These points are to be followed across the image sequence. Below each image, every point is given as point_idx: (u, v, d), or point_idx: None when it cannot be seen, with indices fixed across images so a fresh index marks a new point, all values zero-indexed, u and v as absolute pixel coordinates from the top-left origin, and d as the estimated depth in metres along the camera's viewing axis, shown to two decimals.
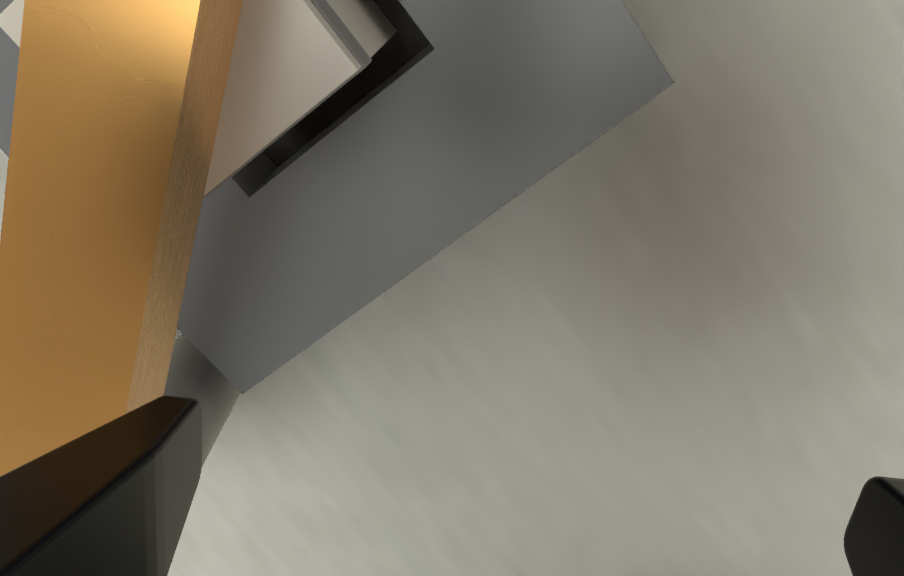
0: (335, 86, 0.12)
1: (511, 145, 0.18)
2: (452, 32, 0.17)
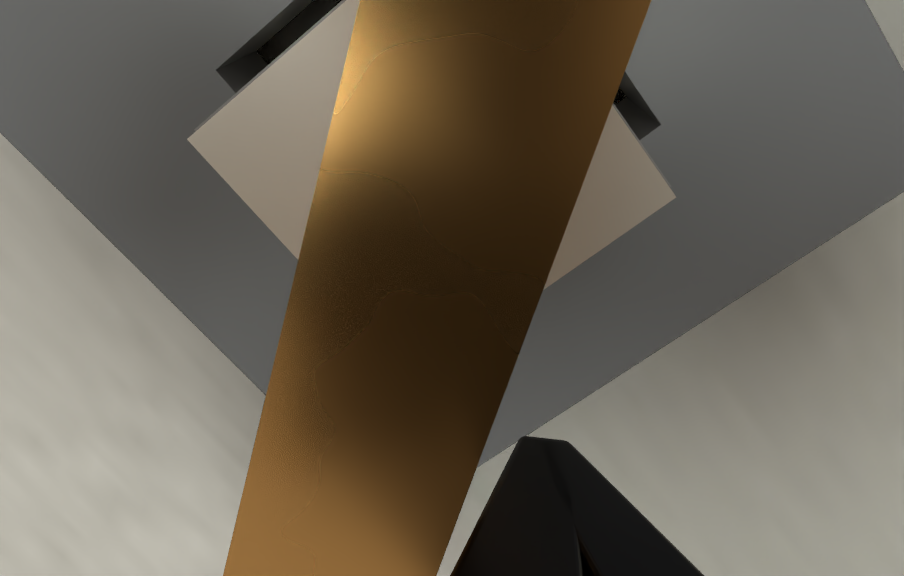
0: (642, 217, 0.09)
1: (743, 236, 0.15)
2: (685, 104, 0.14)
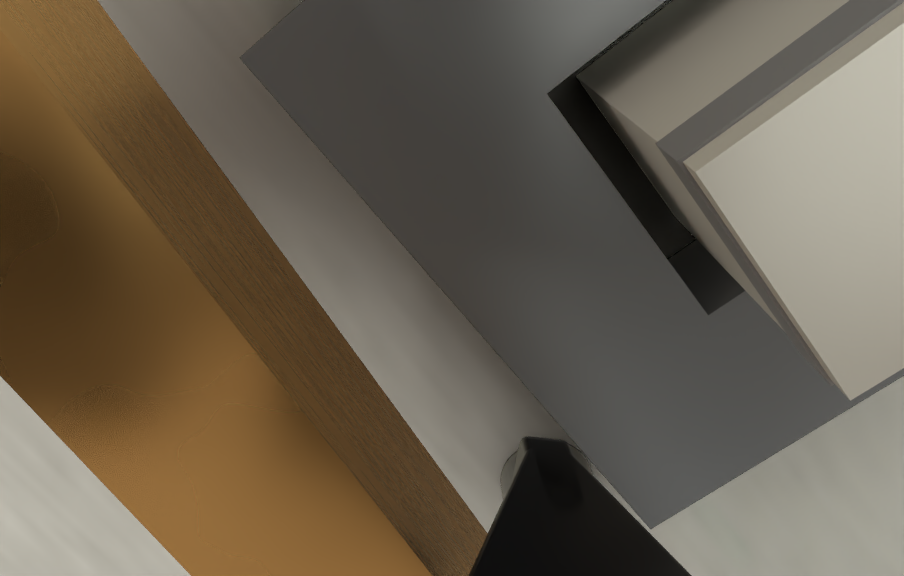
0: None
1: None
2: None
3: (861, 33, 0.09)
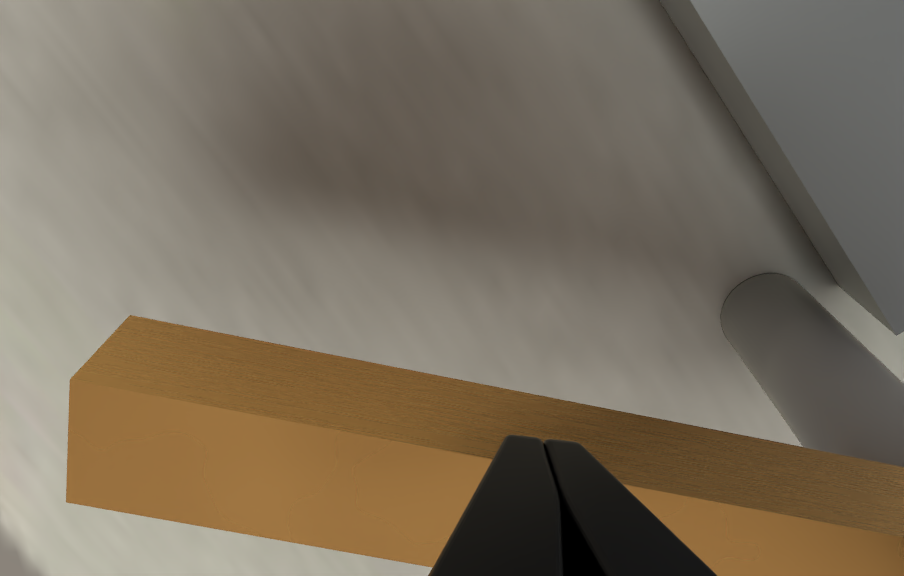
0: None
1: None
2: None
3: None
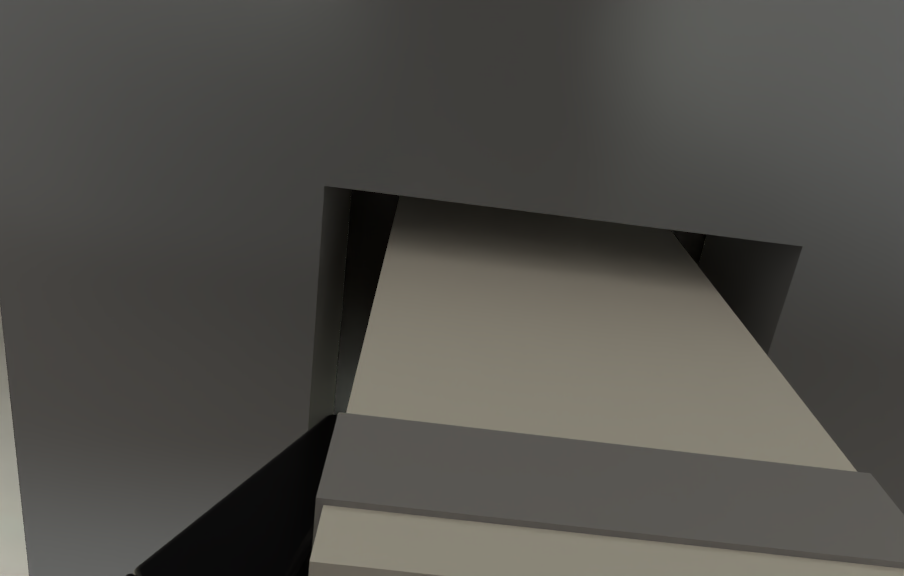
0: None
1: None
2: (813, 203, 0.09)
3: None
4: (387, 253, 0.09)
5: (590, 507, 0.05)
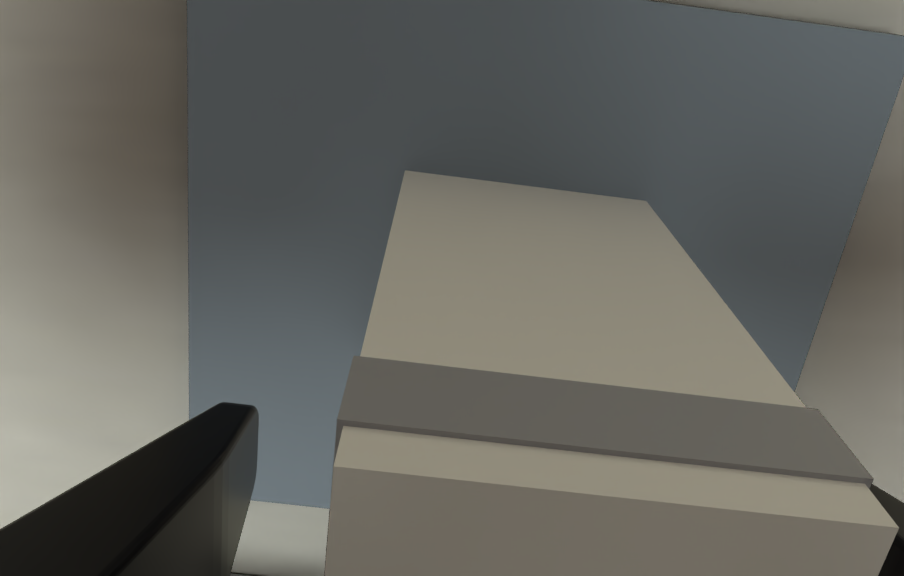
0: (874, 575, 0.06)
1: None
2: None
3: None
4: (392, 228, 0.10)
5: (571, 430, 0.06)
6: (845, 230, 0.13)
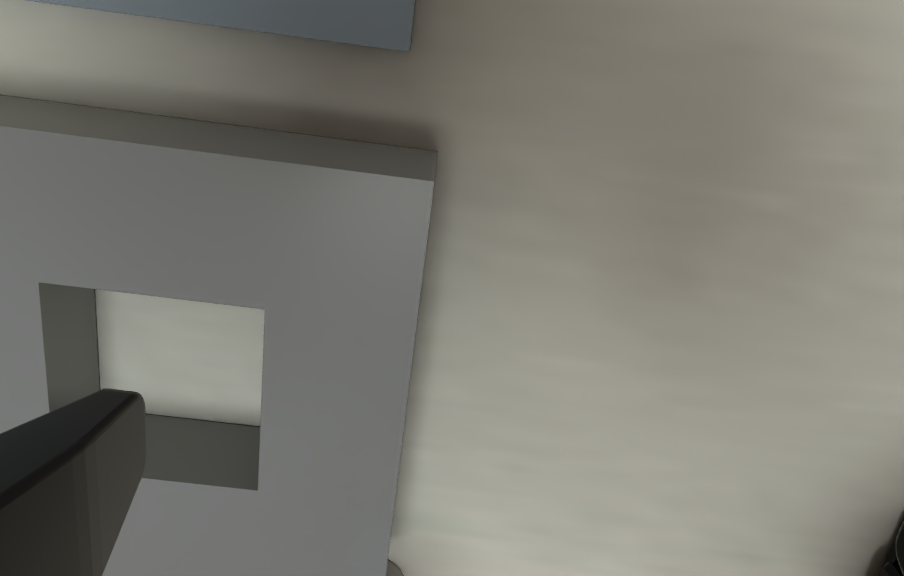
0: None
1: (375, 319, 0.19)
2: (264, 290, 0.19)
3: None
4: None
5: None
6: None
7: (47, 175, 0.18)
